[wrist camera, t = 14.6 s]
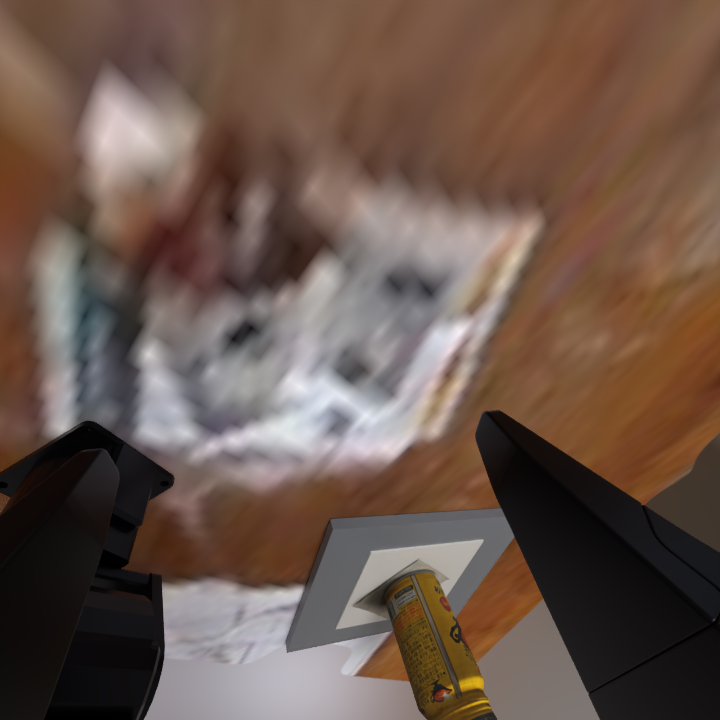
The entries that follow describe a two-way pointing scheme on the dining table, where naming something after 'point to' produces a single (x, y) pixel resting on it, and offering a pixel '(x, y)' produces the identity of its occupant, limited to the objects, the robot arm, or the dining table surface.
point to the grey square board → (392, 567)
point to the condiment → (431, 645)
